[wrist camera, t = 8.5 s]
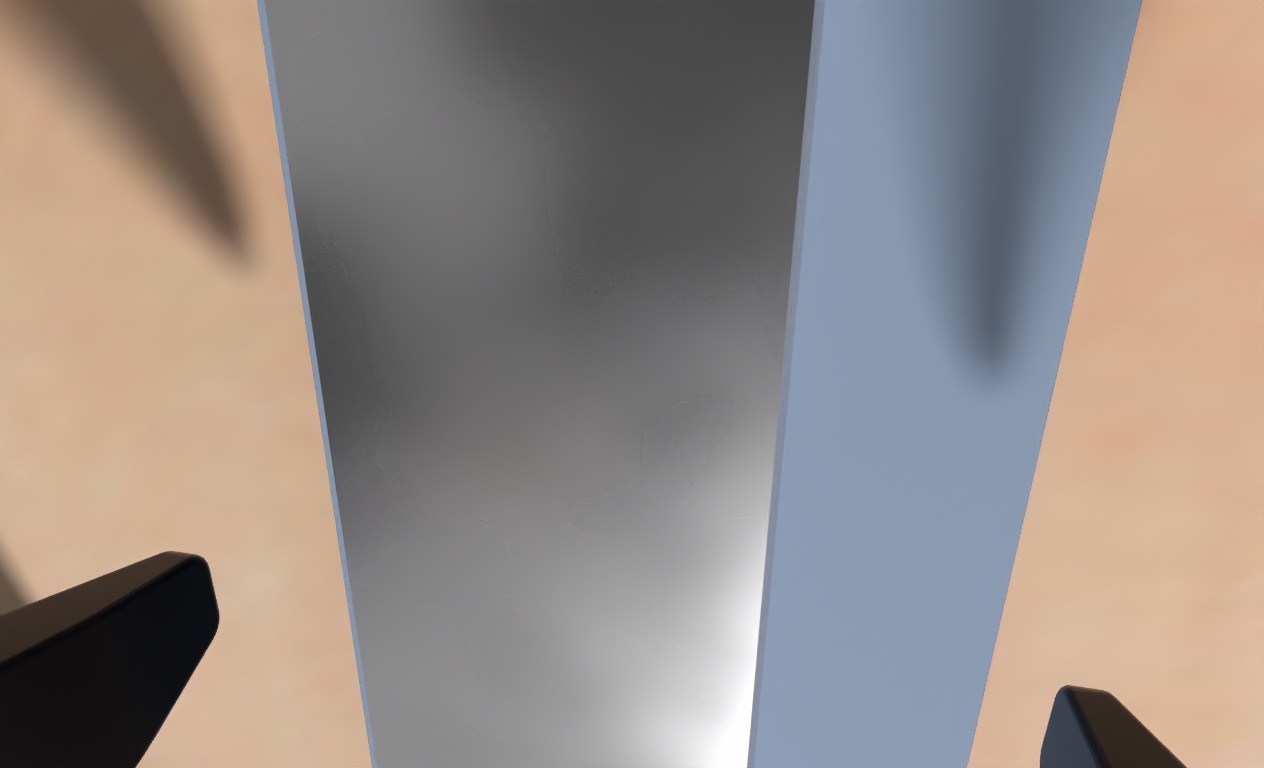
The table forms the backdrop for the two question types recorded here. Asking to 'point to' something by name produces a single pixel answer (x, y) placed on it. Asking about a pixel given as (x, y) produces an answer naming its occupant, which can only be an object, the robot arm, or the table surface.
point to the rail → (554, 358)
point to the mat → (912, 358)
